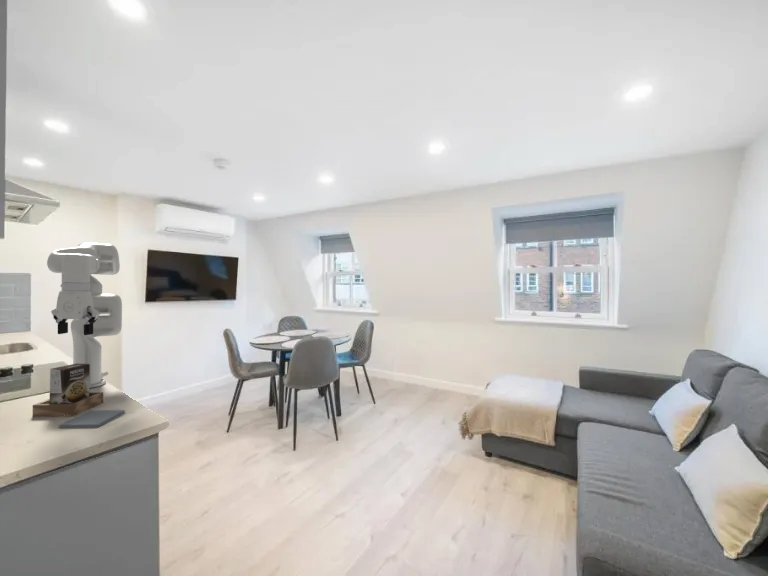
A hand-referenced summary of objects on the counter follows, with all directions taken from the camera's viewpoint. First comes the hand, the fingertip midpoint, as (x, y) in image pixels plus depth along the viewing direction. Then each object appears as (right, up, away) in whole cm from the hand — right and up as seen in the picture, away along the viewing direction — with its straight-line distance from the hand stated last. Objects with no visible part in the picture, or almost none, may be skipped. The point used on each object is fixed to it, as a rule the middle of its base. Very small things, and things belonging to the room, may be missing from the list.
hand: (75, 334), depth 120 cm
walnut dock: (-4, -28, +1) cm, 28 cm away
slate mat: (+13, -29, -7) cm, 32 cm away
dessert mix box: (-4, -28, +1) cm, 29 cm away
